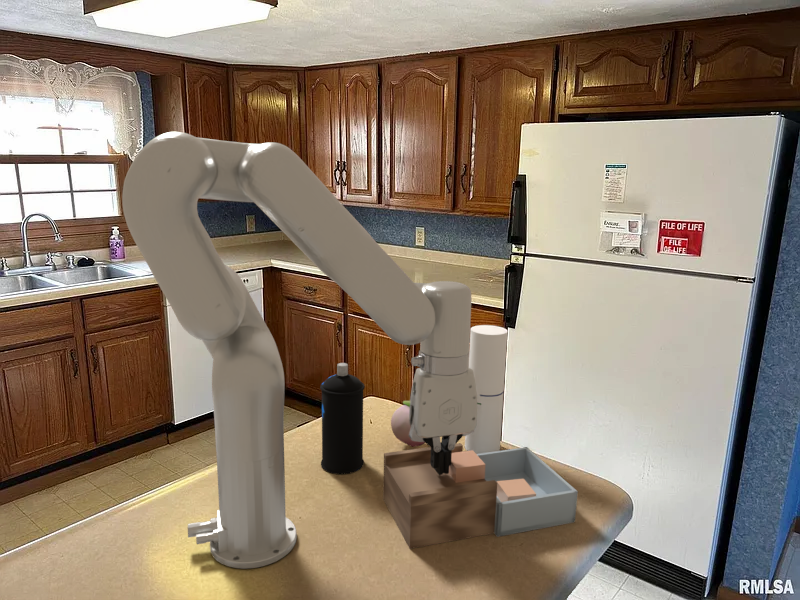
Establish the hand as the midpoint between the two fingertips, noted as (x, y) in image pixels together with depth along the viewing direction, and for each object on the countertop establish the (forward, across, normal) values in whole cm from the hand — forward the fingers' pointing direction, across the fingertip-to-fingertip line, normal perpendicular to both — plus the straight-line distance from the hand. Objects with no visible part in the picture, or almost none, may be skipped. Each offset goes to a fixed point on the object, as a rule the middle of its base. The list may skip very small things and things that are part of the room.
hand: (440, 470), depth 95 cm
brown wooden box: (+8, 0, 0) cm, 8 cm away
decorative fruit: (+8, +4, +24) cm, 26 cm away
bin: (+8, +14, 0) cm, 16 cm away
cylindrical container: (+8, +18, +20) cm, 28 cm away
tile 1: (+1, +4, 0) cm, 4 cm away
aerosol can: (+8, -12, +21) cm, 25 cm away
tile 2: (+5, +14, -1) cm, 14 cm away
